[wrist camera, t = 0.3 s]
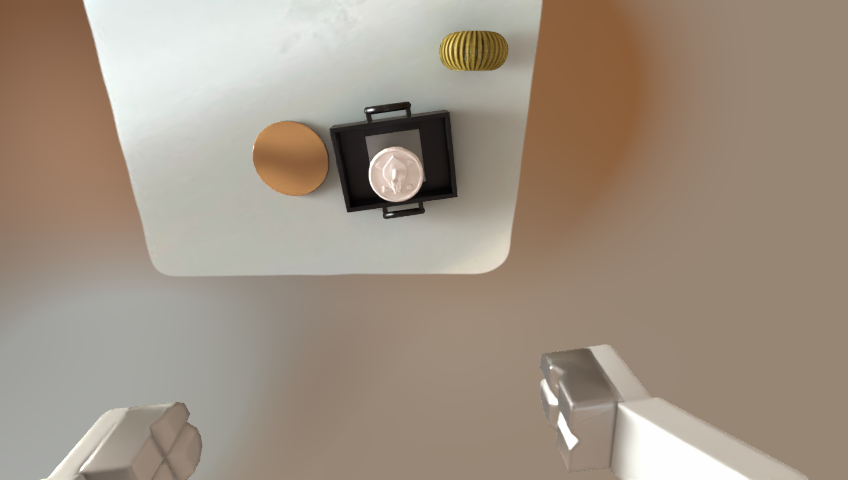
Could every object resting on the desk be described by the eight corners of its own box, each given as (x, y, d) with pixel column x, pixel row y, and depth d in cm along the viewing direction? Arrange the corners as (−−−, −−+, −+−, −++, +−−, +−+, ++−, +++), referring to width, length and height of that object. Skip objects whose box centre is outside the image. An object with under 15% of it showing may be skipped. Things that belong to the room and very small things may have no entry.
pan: (329, 110, 52) (325, 113, 49) (444, 94, 52) (447, 96, 49) (352, 217, 57) (349, 225, 55) (455, 202, 58) (458, 209, 55)
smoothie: (416, 133, 53) (423, 152, 40) (421, 179, 56) (429, 210, 43) (369, 138, 53) (360, 159, 40) (376, 184, 56) (370, 218, 43)
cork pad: (243, 126, 52) (242, 127, 51) (319, 116, 52) (319, 116, 51) (265, 199, 56) (264, 200, 55) (336, 189, 56) (335, 190, 55)
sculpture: (436, 70, 50) (442, 70, 43) (436, 35, 49) (443, 28, 42) (497, 70, 51) (514, 70, 44) (500, 35, 49) (518, 29, 42)
